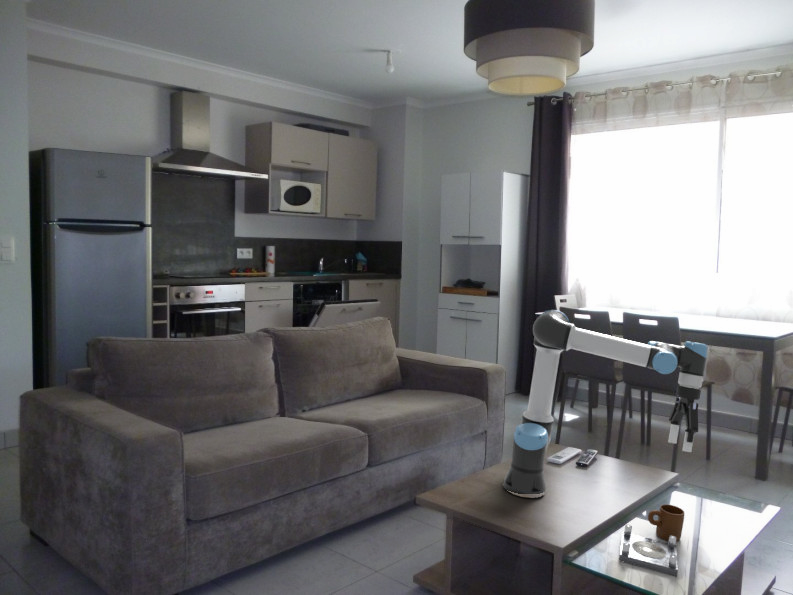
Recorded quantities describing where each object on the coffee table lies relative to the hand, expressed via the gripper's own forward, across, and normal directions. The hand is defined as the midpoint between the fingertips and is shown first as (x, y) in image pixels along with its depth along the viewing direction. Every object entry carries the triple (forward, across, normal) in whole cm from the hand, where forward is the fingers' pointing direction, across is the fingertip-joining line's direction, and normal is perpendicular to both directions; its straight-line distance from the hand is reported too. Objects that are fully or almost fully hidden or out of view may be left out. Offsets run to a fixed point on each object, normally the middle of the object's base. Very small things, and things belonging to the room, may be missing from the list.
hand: (679, 447), depth 227 cm
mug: (+28, -14, +6) cm, 32 cm away
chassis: (+30, -28, +15) cm, 44 cm away
